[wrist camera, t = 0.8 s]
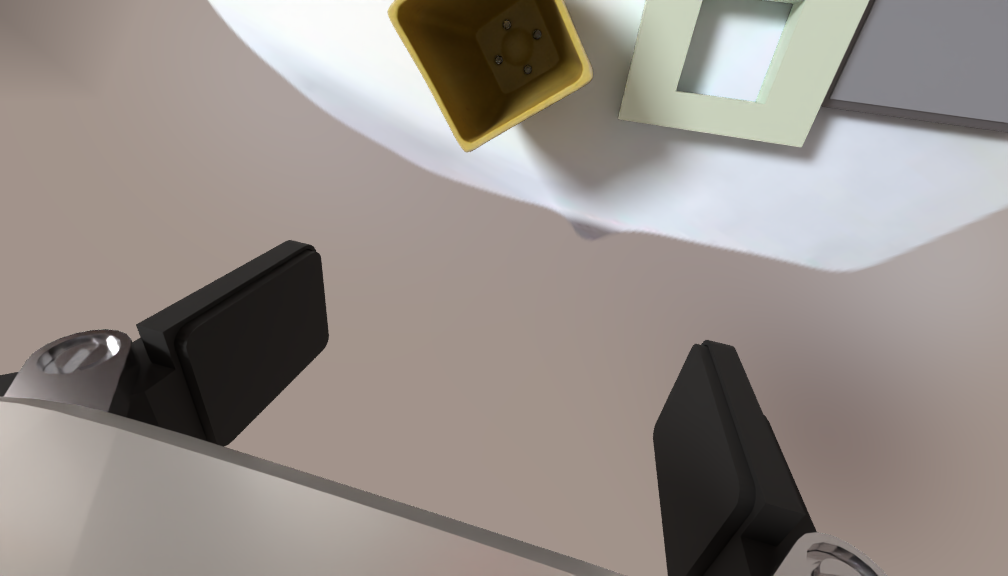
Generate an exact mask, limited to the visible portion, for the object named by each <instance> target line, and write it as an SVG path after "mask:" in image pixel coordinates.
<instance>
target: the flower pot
mask: <svg viewBox="0 0 1008 576" xmlns="http://www.w3.org/2000/svg"><path fill="white" fill-rule="evenodd" d="M388 16H389V18H390V21H391V23H392V24H393V26H394V28H395V30H396V32H397V33H398V35H399V37H400V38H401V40H402V42H403V43H404V45H405V47H406V48H407V50H408V52H409V53H410V55H411V57H412V59H413V61H414V62H415V64H416V66H417V68H418V69H419V71H420V73H421V74H422V76H423V78H424V80H425V81H426V83H427V85H428V87H429V89H430V91H431V93H432V94H433V96H434V98H435V100H436V102H437V104H438V106H439V108H440V110H441V112H442V114H443V115H444V117H445V119H446V121H447V123H448V125H449V127H450V129H451V131H452V133H453V135H454V137H455V138H456V140H457V142H458V143H459V145H460V146H461V148H462V149H463V150H464V151H465V152H471V151H473V150H475V149H476V148H478V147H480V146H481V145H483V144H485V143H486V142H488V141H490V140H491V139H493V138H495V137H496V136H498V135H500V134H501V133H503V132H505V131H507V130H508V129H510V128H512V127H513V126H515V125H517V124H519V123H520V122H522V121H524V120H526V119H527V118H529V117H531V116H533V115H534V114H536V113H538V112H540V111H541V110H543V109H545V108H547V107H548V106H550V105H552V104H554V103H555V102H557V101H559V100H561V99H563V98H564V97H566V96H568V95H569V94H571V93H573V92H575V91H577V90H579V89H580V88H582V87H583V86H585V85H587V84H588V83H589V82H590V81H591V80H592V78H593V69H592V66H591V64H590V61H589V59H588V57H587V55H586V52H585V50H584V48H583V45H582V43H581V41H580V38H579V36H578V34H577V31H576V29H575V27H574V24H573V22H572V19H571V17H570V15H569V12H568V10H567V7H566V5H565V2H564V0H395V1H394V2H393V3H392V4H391V5H390V7H389V9H388ZM506 20H509V21H510V23H511V27H510V28H509V29H505V28H504V27H503V24H504V22H505V21H506ZM536 30H539V31H540V32H541V37H540V38H539V39H535V38H534V36H533V34H534V32H535V31H536ZM497 56H501V57H502V59H503V61H502V63H501V64H497V63H496V62H495V58H496V57H497ZM526 65H529V66H531V69H532V71H531V73H529V74H526V73H525V72H524V67H525V66H526Z"/></svg>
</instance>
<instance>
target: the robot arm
mask: <svg viewBox="0 0 1008 576" xmlns="http://www.w3.org/2000/svg"><path fill="white" fill-rule="evenodd" d="M136 326H137V328H138V331H139V334H140V336H141V338H139V339H137V340H136V341H134V342H132V340H131V338H130V337H129V336H128V335H127V334H126V333H123V332H121V331H118V330H108V329H103V330H90V331H85V332H79V333H75V334H72V335H69V336H66V337H62V338H60V339H57V340H55V341H53V342H51V343H48V344H46V345H45V346H43V347H41V348H40V349H38V350H37V351H35V352H34V353H33V354H32V355H31V356H30V357H29V358H28V359H27V360H26V362H25V363H24V365H23V366H22V368H21V370H20V371H19V372H15V373H10V374H5V375H0V576H626V575H623V574H620V573H617V572H614V571H611V570H608V569H605V568H602V567H600V566H597V565H594V564H591V563H588V562H585V561H582V560H579V559H576V558H573V557H570V556H566V555H563V554H560V553H557V552H554V551H551V550H548V549H545V548H542V547H538V546H535V545H532V544H529V543H526V542H523V541H520V540H517V539H514V538H511V537H507V536H504V535H501V534H498V533H495V532H492V531H489V530H486V529H483V528H480V527H477V526H473V525H470V524H467V523H464V522H461V521H458V520H455V519H452V518H449V517H446V516H442V515H439V514H436V513H433V512H429V511H427V510H423V509H420V508H417V507H414V506H411V505H408V504H405V503H401V502H398V501H395V500H392V499H389V498H386V497H382V496H379V495H376V494H373V493H370V492H367V491H364V490H360V489H357V488H354V487H351V486H348V485H345V484H341V483H338V482H335V481H332V480H329V479H326V478H322V477H319V476H316V475H313V474H310V473H307V472H303V471H300V470H297V469H294V468H291V467H287V466H284V465H281V464H278V463H274V462H271V461H268V460H265V459H261V458H258V457H255V456H252V455H249V454H246V453H242V452H239V451H236V450H233V449H229V448H226V447H224V446H226V445H228V444H229V443H231V442H232V441H233V440H234V439H235V438H236V437H237V436H238V435H239V434H240V433H241V432H242V431H243V430H244V429H245V428H246V427H247V426H248V425H249V424H250V423H251V422H252V421H253V420H254V419H255V418H256V417H257V416H258V415H259V413H261V412H262V411H263V410H264V409H265V408H266V407H267V406H268V405H269V404H270V403H271V402H272V401H273V400H274V399H275V398H276V397H277V396H278V395H279V394H280V393H281V392H282V390H284V389H285V388H286V387H287V386H288V385H289V384H290V383H291V382H292V381H293V380H294V379H295V378H296V377H297V375H299V374H300V372H301V371H303V370H304V369H305V368H306V366H307V365H309V364H310V362H312V361H313V360H314V358H316V357H317V356H318V354H320V353H321V351H323V349H324V348H325V347H326V345H327V342H328V338H329V334H328V323H327V314H326V303H325V293H324V283H323V273H322V263H321V256H320V254H319V253H317V252H316V250H315V248H314V247H313V246H312V245H309V244H305V243H300V242H296V241H292V240H288V241H286V242H284V243H282V244H280V245H278V246H277V247H275V248H273V249H271V250H269V251H268V252H266V253H264V254H262V255H260V256H259V257H257V258H255V259H253V260H251V261H250V262H248V263H246V264H244V265H243V266H241V267H239V268H237V269H235V270H233V271H232V272H230V273H228V274H226V275H225V276H223V277H221V278H219V279H217V280H215V281H214V282H212V283H210V284H208V285H206V286H205V287H203V288H201V289H199V290H198V291H196V292H194V293H192V294H190V295H189V296H187V297H185V298H183V299H182V300H180V301H178V302H176V303H174V304H172V305H171V306H169V307H167V308H165V309H164V310H162V311H160V312H158V313H156V314H155V315H153V316H151V317H149V318H147V319H145V320H144V321H142V322H140V323H138V324H136ZM653 442H654V451H655V461H656V470H657V479H658V488H659V498H660V507H661V516H662V524H663V534H664V543H665V553H666V562H667V570H668V576H887V575H886V573H885V572H884V571H883V570H882V569H881V568H880V567H879V566H878V565H877V564H876V563H874V562H873V561H872V560H871V559H870V558H869V557H868V556H866V555H865V554H864V553H863V552H861V551H860V550H858V549H856V548H855V547H853V546H852V545H851V544H849V543H847V542H845V541H843V540H841V539H839V538H837V537H834V536H832V535H828V534H823V533H819V532H816V529H815V527H814V525H813V523H812V520H811V518H810V516H809V513H808V511H807V508H806V506H805V504H804V502H803V499H802V497H801V495H800V492H799V490H798V488H797V486H796V483H795V481H794V479H793V476H792V474H791V472H790V469H789V467H788V465H787V462H786V460H785V458H784V456H783V453H782V451H781V449H780V446H779V444H778V442H777V440H776V437H775V435H774V433H773V430H772V428H771V426H770V423H769V421H768V420H767V418H766V416H765V415H763V413H762V410H761V408H760V406H759V403H758V401H757V399H756V396H755V394H754V392H753V389H752V387H751V385H750V382H749V380H748V378H747V375H746V373H745V370H744V368H743V366H742V363H741V361H740V359H739V357H738V354H737V352H736V350H735V348H734V347H733V346H730V345H726V344H722V343H718V342H713V341H709V340H705V341H704V342H703V343H702V344H701V345H699V344H695V345H693V347H692V348H691V351H690V352H689V355H688V357H687V359H686V361H685V363H684V365H683V367H682V369H681V371H680V373H679V376H678V378H677V380H676V382H675V384H674V386H673V388H672V391H671V392H670V395H669V397H668V399H667V401H666V403H665V405H664V407H663V410H662V411H661V414H660V416H659V418H658V420H657V422H656V424H655V428H654V433H653Z"/></svg>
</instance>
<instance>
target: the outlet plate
mask: <svg viewBox="0 0 1008 576" xmlns="http://www.w3.org/2000/svg"><path fill="white" fill-rule="evenodd" d="M764 1H773V2H782V3H791V4H793V6H792V9H791V11H790V14H789V16H788V19H787V21H786V24H785V27H784V29H783V32H782V34H781V37H780V40H779V42H778V45H777V47H776V50H775V53H774V55H773V58H772V60H771V63H770V66H769V68H768V71H767V73H766V76H765V78H764V81H763V84H762V86H761V89H760V91H759V94H758V97H757V99H756V102H753V101H746V100H739V99H731V98H724V97H717V96H710V95H703V94H696V93H689V92H682V91H676V89H677V85H678V82H679V79H680V75H681V72H682V68H683V65H684V62H685V58H686V55H687V51H688V48H689V45H690V41H691V38H692V34H693V31H694V28H695V24H696V21H697V17H698V14H699V11H700V7H701V4H702V0H646V2H645V6H644V10H643V15H642V19H641V23H640V27H639V31H638V36H637V40H636V44H635V48H634V52H633V57H632V61H631V65H630V69H629V73H628V78H627V82H626V86H625V90H624V94H623V99H622V103H621V107H620V111H619V115H618V118H619V120H625V121H632V122H638V123H645V124H652V125H658V126H665V127H671V128H678V129H684V130H691V131H697V132H704V133H710V134H717V135H723V136H730V137H736V138H743V139H749V140H756V141H762V142H769V143H776V144H782V145H789V146H795V147H802V146H803V143H804V141H805V139H806V137H807V135H808V132H809V130H810V128H811V126H812V124H813V122H814V119H815V117H816V115H817V113H818V111H819V109H820V106H821V104H822V102H823V100H824V98H825V96H826V93H827V91H828V89H829V87H830V85H831V83H832V80H833V78H834V76H835V74H836V72H837V70H838V67H839V65H840V63H841V61H842V59H843V57H844V54H845V52H846V50H847V48H848V46H849V43H850V41H851V39H852V37H853V35H854V33H855V30H856V28H857V26H858V24H859V22H860V20H861V17H862V15H863V13H864V11H865V9H866V7H867V4H868V2H869V0H764Z"/></svg>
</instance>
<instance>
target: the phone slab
mask: <svg viewBox="0 0 1008 576" xmlns="http://www.w3.org/2000/svg"><path fill="white" fill-rule="evenodd" d="M821 106H822V107H829V108H836V109H844V110H851V111H858V112H865V113H872V114H880V115H887V116H894V117H901V118H908V119H915V120H923V121H930V122H937V123H944V124H951V125H958V126H966V127H973V128H980V129H987V130H994V131H1001V132H1008V0H869V2H868V4H867V7H866V9H865V11H864V13H863V15H862V17H861V20H860V22H859V24H858V26H857V28H856V30H855V33H854V35H853V37H852V39H851V41H850V43H849V46H848V48H847V50H846V52H845V54H844V57H843V59H842V61H841V63H840V65H839V67H838V70H837V72H836V74H835V76H834V78H833V80H832V83H831V85H830V87H829V89H828V91H827V93H826V96H825V98H824V100H823V102H822V104H821Z"/></svg>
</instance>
